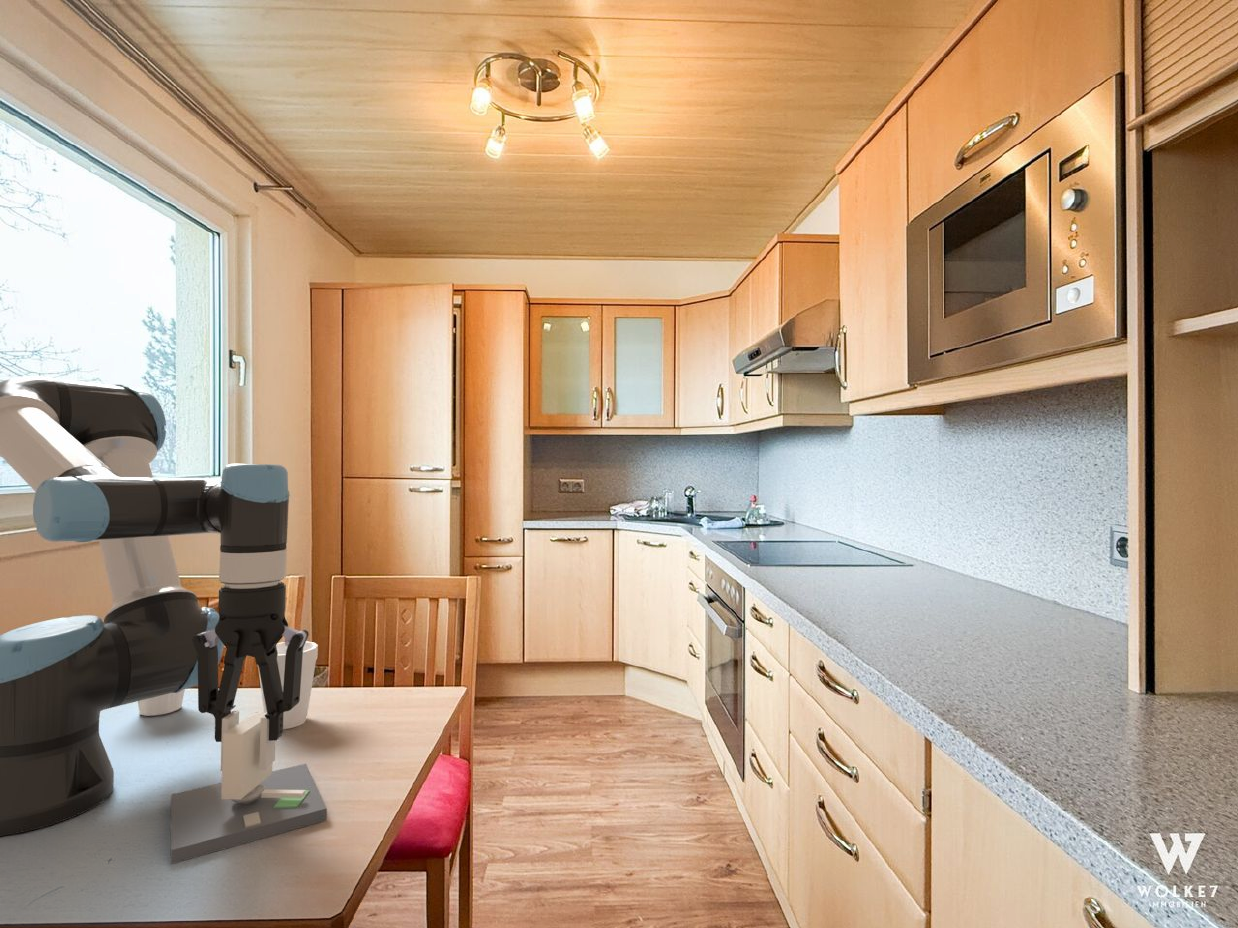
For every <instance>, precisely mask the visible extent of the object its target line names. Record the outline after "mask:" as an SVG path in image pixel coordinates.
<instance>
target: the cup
mask: <svg viewBox="0 0 1238 928" xmlns="http://www.w3.org/2000/svg"><path fill="white" fill-rule="evenodd" d="M185 690H186V689H183V690H182V691H180V692H178V693H169V694H165V695H161V696H157V697H153V698H149V699H144V700H140V701H137V706H138V712H139V715H142V716H146V717H148V716H160V715H166V714H169V713H173V712H175V711H179V709H181V708H182V705H183V700H184V695H185Z"/></svg>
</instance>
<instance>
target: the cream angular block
mask: <svg viewBox="0 0 1238 928" xmlns="http://www.w3.org/2000/svg"><path fill="white" fill-rule="evenodd" d="M265 714H266V713H264V712H259V711H258V712H255V713H252V714H251V715H250V716H248V717H247V718H245V719H243V720H242V721H239V724H237V725H236V726H234V727H233V728H231V729H229V730H228V731H226V732H225V733H223V761H222V771H221V783H222V797H221V799H231V800H232V801H233V802H236V803H241V804H249V803H252V802H253V801H254V800H256V799H258V798H259V797H261V798H303V797H304V796H305V790H269V789H265V790H264V787H263V786H262V785H259V784H260V783H261V782H262V781H263V780H264V779H266V778H267V777H268V776H269V775H270V774H272V771H273V763H274V762H273V763H272V764H271V765H270V766H269V767H268V768H267V769H266V770H259V763H260V725H261V718H262V717H263V716H264V715H265Z"/></svg>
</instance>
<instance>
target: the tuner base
mask: <svg viewBox="0 0 1238 928" xmlns="http://www.w3.org/2000/svg"><path fill="white" fill-rule="evenodd" d="M311 773H312V772H311V771H310V769H309V767H308V765H307V763H304V764H303V763H302V764H298V765H294V766H290V767H286V768H282V769H281V768H280V769H276V770H272V774H270V775H269V776H268V777H267V778H266V779H264V780H263V781H262V782H261V783H260V784H259V785H262V786H263V787H264V790H265V789H269V790H305V796H304V797H303V798H261V797H259V798H258V799H256V800H254V801H253V802H252V803H249V804H241V803H236V802H233V801H232V800H231V799H221V797H222V782H219V783H215V784H211V785H210V784H209V785H207V786H206V785H205V786H203V787H197V788H193V789H188V790H184V791H183V790H182V791H180V792H174V793H171V796H170V797H171V798H170V864H174V863H175V864H177V863H178V862H182V861H185V860H186V861H187V860H190V859H193V858H197V857H200V856H203V855H207V854H211V853H214V852H218V851H221V850H225V849H229V848H233V847H236V846H240V845H243V844H247V843H250V842H255V841H257V840H260V839H265V838H269V837H271V836H275V835H279V834H283V833H286V832H291V831H293V830H298V829H300V828H304V827H308V826H312V825H315V824H318V823H323V822H325V821H327V815H328V814H327V810H328V809H327V806H326V804H325V802H324V800H323V798H322V795H321V793H320V790H319V788H318V787H317V785H316V782H315V780H314V778H313V775H312V774H311Z"/></svg>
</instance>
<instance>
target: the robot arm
mask: <svg viewBox="0 0 1238 928" xmlns="http://www.w3.org/2000/svg"><path fill="white" fill-rule="evenodd" d="M165 415H166V414H165V412H164V410H163V407H162V405H161V403H160V401H159V400H158V399H157V398H156V396H155V395H153V394H152V393H151V392H149V391H147V390H145V389H143V388H136V387H131V386H130V387H129V386H127V385H125V384H124V385H123V384H112V385H111V384H103V383H102V384H101V383H93V382H85V381H79V380H78V381H77V380H69V379H68V380H67V379H61V378H60V379H59V378H51V377H44V376H22V377H21V376H20V377H14V378H10V379H7V380H2V381H0V458H3V459H4V461H5V462H6V463H8V465H9V466H10V467H11V468H12V469H13V470H14V471H15V472H16V473H17V474H18V475H19V476H20V478H22V480H23V481H24V482H26V483H27V485H28V486H29V487H30V488H31V489H33V491H34V492H35V493H34V497H33V503H32V516H33V517H32V518H33V522H34V524H35V525H36V531H37V533H38V534H39V536H40V537H41V538H42V539H43V540H45V541H49V542H56V543H57V542H75V543H76V542H77V543H88V542H89V543H90V542H92V541H93V542H94V541H99V546H100V548H101V549H100V550H101V554H102V557H103V558H102V559H103V562H104V563H103V564H104V567H105V571H106V577H107V580H108V586H109V589H110V593H111V595H110V596H111V598H112V602H113V605H112V607H111V608H110V609H109V610H108V611H107V612H106V613H105V614H104V616H103V619H102V618H101V617H100V616H97V615H91V614H87V615H82V614H81V615H74V616H70V617H60V618H53V619H48V620H43V621H38V622H35V623H31V624H27V625H24V626H20V627H17V628H13V629H12V630H9V631H7V632H4V633H2V634H0V836H7V835H8V836H9V835H13V834H19V833H23V832H24V833H26V832H29V831H32V830H37V829H42V828H44V827H47V826H51V825H54V824H57V823H60V822H63V821H66V820H68V819H70V818H74V817H75V816H77V815H80V814H82V813H85V812H86V811H89V810H90V809H93V808H95V807H96V806H97V805H100V804H101V803H102V802H103V801H105V800H106V799H107V798H108V797H109V796H110V795H111V794H112V792H113V790H114V782H115V781H114V780H115V772H114V768H113V765H112V763H111V761H110V758H109V756H108V752H107V749H106V748H105V746H104V743H103V740H102V739H101V736H100V715H101V712H102V711H104V710H107V709H112V708H115V707H116V708H117V707H121V706H124V705H127V704H132V703H136V702H138V701H140V700H144V699H149V698H153V697H157V696H161V695H165V694H169V693H178V692H180V691H182V690H183V689H185V690H186V689H190V688H193V687H198V688H197V693H198V694H197V704H198V705H197V706H198V711H199V713H201V714H206V713H207V714H211V715H212V716H213V717H214V740H215V742H216V743H220V745H221V746H220V748H221V749H220V771H221V772H222V761H223V733H225V732H226V731H228V730H229V729H231V728H233V727H234V726H236V725H237V724H239V723H240V710H233V709H235V707H236V704H235V699H236V696H237V691H238V687H239V683H240V680H241V679H240V678H241V675H242V671H243V667H244V662H245V660H246V659H247V656H249V657H252V658H254V660H255V664H256V666H257V665H258V666H259V669H258V672H259V671H260V677H261V682H262V687H263V693H264V698H265V704H266V709H267V713H266V714H265V715H264V716H263V717H262V718H261V725H260V763H259V770H266V769H267V768H268V767H269V766H270V765H271V764H272V763H274V762H276V742H277V740H279V739H280V738H281V737H282V736H283V733H284V729H283V714H284V712H285V711H290V710H291V709H292V708H293V707H294V706H296V705H297V704H298V703H299V701H300V686H301V671H302V656H303V647H304V645H305V642H306V641H308V637H309V636H310V634H309V631H308V630H307V629H302V630H298V629H295V628H292V627H290V626H289V623H288V621H287V619H286V615H285V612H286V601H287V598H286V597H287V595H286V593H287V590H286V589H287V585H286V584H285V582H283V581H282V580H284V579H285V578H286V577H287V556H288V555H287V554H288V553H287V551H288V549H287V543H288V525H289V522H288V521H289V501H290V495H291V494H290V491H289V476H288V475H289V474H288V470H287V468H286V467H284V466H283V465H280V464H266V463H265V464H264V463H263V464H260V463H259V464H258V463H257V464H256V463H230V464H229V463H228V464H227V465H225V467H224V468H223V470H222V474H221V478H218V477H211V476H210V477H204V476H203V477H201V476H200V477H154V476H153V472H152V468H151V465H150V464H151V463H152V462H154V460H155V459H156V457H157V455H158V452H159V451H160V450H161V448H162V447H163V446H164V443H165V439H166V436H167V430H166V429H165V427H166V426H167V421H166V420H167V419H166V416H165ZM197 534H198V535H199V534H217V535H218V534H219V535H220V537H219V538H220V541H219V543H220V545H219V546H220V547H219V550H220V551H219V552H220V553H219V570H218V571H219V575H218V581H219V582H220V583H221V584H224V585H222V586H221V587H220V588H219V589H218V609H217V610H218V611H216V610H215V608H212V607H206V606H202V607H201V606H200V605H199V602H198V601H199V600H198V597H197V594H196V593H195V592H194V591H192V590H190V589H187V588H185V587H183V586H182V583H181V580H180V575H179V571H178V567H177V565H176V564H177V563H176V560H175V556H174V553H173V548H172V546H171V545H172V544H171V540H170V537H169V536H183V535H185V536H186V535H197ZM283 638H284V642H285V645H286V646H287V650H286V656H285V671H284V685H283V690H282V685H281V679H280V674H279V668H278V663H277V656H278V653H277V647H276V645H277V643H280V640H282V639H283ZM224 647H225V648H226V650H225V655H224V658H223V664H224V665H223V670H222V674H221V675H222V676H221V678H220V682H219V664H220V662H221V659H222V654H223V652H224V651H223V650H224ZM258 666H257V667H258ZM260 677H259V678H260ZM232 710H233V711H232ZM272 765H273V764H272Z"/></svg>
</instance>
